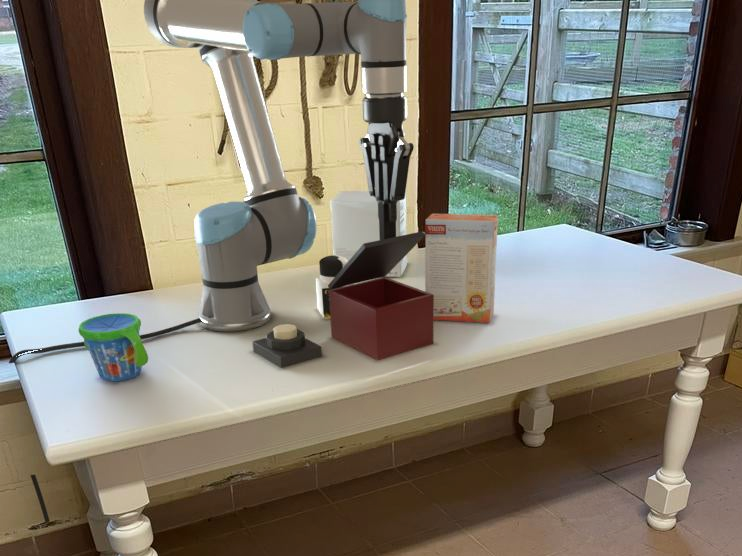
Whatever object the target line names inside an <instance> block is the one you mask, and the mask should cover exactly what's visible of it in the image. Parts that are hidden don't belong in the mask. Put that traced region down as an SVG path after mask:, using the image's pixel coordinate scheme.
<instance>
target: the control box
mask: <svg viewBox="0 0 742 556" xmlns="http://www.w3.org/2000/svg"><path fill="white" fill-rule="evenodd" d="M305 334H306V333H305V331H303V330H302V329H299V328H297V337H295V338H292V339H285V340H281V339H276V338H274V330H271V331H269V332H268V333H266V337H264V338H260V339H256V340H253V341H251V343H252V349H253V350H252V351H253V353H255V354H257V355H258V356H259V357H261V358H264V359H265V360H266V361H268V362H270V363H272V364H273V365H275V366H277V367H279V368H280V369H284V368H288V367H291V366H294V365H299V364H302V363H305V362H309V361H312V360H316V359H319V358H322V357H323V353H322V346H321V345H319V344H318V343H316V342H313V341H312V340H310V339H308V338H306V335H305Z"/></svg>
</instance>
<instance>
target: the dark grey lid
mask: <svg viewBox="0 0 742 556" xmlns="http://www.w3.org/2000/svg"><path fill="white" fill-rule="evenodd" d="M424 237H426V232H425V231H424V230H422V231H417V232H412V233H407V235H402V236H397V237H393V238H388V239H383V240H378V241H374V242H369V243H364V244H363V245H362V246H361V247H360V248H359V250H358V251H357V252H356V253H355V254H354V255H353V257H352V258H351V259H350V260H349V261H348V262H347V264H346V265H345V266H344V267H343V268H342V269H341V271H340V272H339V273H338V274H337V275H336V277H335V278H334V279H333V280H332V281H331V282H330V284H329V285H328V287H329V289H334V288H338V287H342V286H346V285H350V284H357V283H361V282H365V281H370V280H374V279H378V278H382V277H385V276H386V275H387V274H388V273H389V272H390V271H391V270H392V269H393V268H394V267H395V266H396V265H397V264H398V263H399V262H400V261H401V260H402V259H403V258H404V257H405V256H406V255H407V256H408V254H409V253H410V252H411V250H413V249H414V248H415V246H417V245H418V243H419V242H421V240H423V238H424Z"/></svg>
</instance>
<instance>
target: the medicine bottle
mask: <svg viewBox="0 0 742 556" xmlns="http://www.w3.org/2000/svg"><path fill="white" fill-rule="evenodd" d="M318 262H319V264H318V265H319V277H316V278H315V291H316V293H315V294H316V307H317V311H318V312H319V314H320V315H321V317H322V318H323V320H329V319H330V320H331V317H330V301H329V290H332V289H329V287H328V285H329V284H330V282H331V281H332V280H333V279H334V278H335V277H336V275H337V274H338V273H339V272H340V271H341V269H342V268H343V267H344V266H345V265H346V264H347V262H348V260H347V259H346V258H344V257H342V256H333V255H327V256H324V257H322V258H321V259H320V260H319V261H318ZM350 285H353V284H350ZM346 286H349V285H346ZM342 287H344V286H342ZM338 288H340V287H338ZM334 289H336V288H334Z"/></svg>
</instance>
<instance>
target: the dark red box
mask: <svg viewBox="0 0 742 556" xmlns="http://www.w3.org/2000/svg"><path fill="white" fill-rule="evenodd" d="M329 301H330V317H331V319H330V330H331V332H330V333H331V339H333V340H334V341H337V342H338V343H341V344H343V345H345V346H346V347H349V348H351V349H353V350H354V351H356V352H359V353H361V354H363V355H365V356H367V357H369V358H371V359H373V360H375V361H381V360H384V359H388V358H390V357H394V356H397V355H400V354H405V353H408V352H410V351H414V350H418V349H421V348H425V347H428V346H430V345H434V321H435V320H434V295H433V294H430V293H428V292H425V290H422V289H419V288H417V287H414V286H412V285H408V284H406V283H404V282H400V281H398V280H394V279H391V278H390V277H385V276H384V277H380V278H376V279H371V280H367V281H363V282H359V283H355V284H353V285H349V286H344V287H340V288H336V289H332V290H329Z"/></svg>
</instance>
